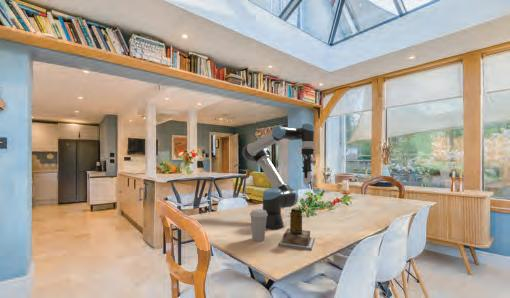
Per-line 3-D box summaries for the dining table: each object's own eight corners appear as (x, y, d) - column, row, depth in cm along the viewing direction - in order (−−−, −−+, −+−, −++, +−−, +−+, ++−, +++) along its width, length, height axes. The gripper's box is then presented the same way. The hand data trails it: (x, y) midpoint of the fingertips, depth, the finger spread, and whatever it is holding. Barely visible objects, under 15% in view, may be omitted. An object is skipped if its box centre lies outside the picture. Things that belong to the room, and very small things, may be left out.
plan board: (278, 245, 116) (278, 243, 116) (284, 236, 131) (284, 233, 131) (311, 250, 111) (311, 247, 111) (314, 239, 126) (314, 237, 126)
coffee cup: (246, 237, 127) (247, 209, 128) (262, 235, 131) (263, 208, 131) (253, 243, 118) (253, 213, 119) (270, 241, 122) (270, 212, 123)
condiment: (295, 229, 126) (295, 207, 127) (308, 234, 120) (308, 210, 120) (286, 232, 121) (286, 209, 122) (299, 236, 115) (299, 212, 115)
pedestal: (283, 242, 117) (283, 234, 117) (287, 235, 129) (287, 228, 129) (307, 246, 113) (307, 237, 114) (310, 238, 125) (310, 230, 125)
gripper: (311, 147, 134) (311, 184, 133) (315, 149, 158) (315, 181, 157) (298, 147, 136) (298, 183, 136) (304, 149, 160) (303, 180, 159)
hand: (307, 182), depth 146 cm, fingers open, 13 cm apart
